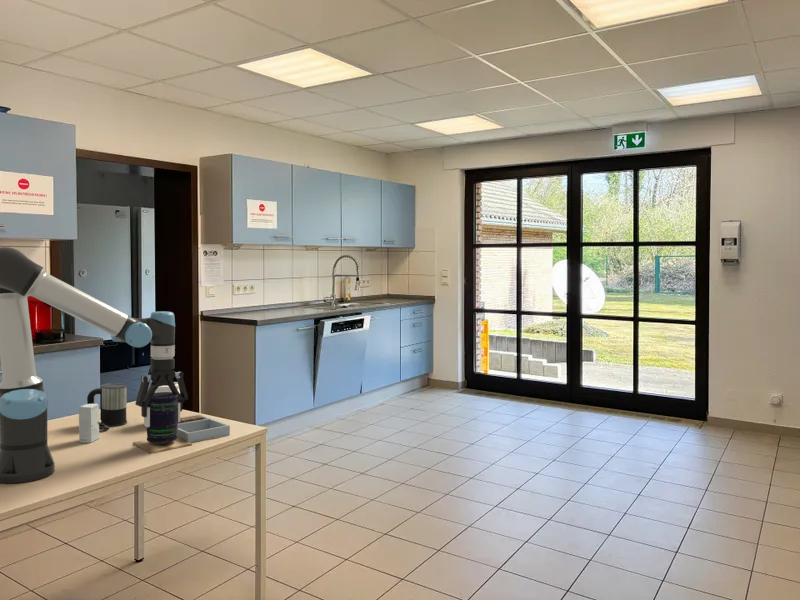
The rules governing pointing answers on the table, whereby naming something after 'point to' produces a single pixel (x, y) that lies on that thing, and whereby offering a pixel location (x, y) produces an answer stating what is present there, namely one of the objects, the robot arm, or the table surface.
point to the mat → (161, 445)
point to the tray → (215, 430)
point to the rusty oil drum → (163, 418)
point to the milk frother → (111, 404)
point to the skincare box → (88, 423)
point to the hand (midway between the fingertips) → (162, 423)
